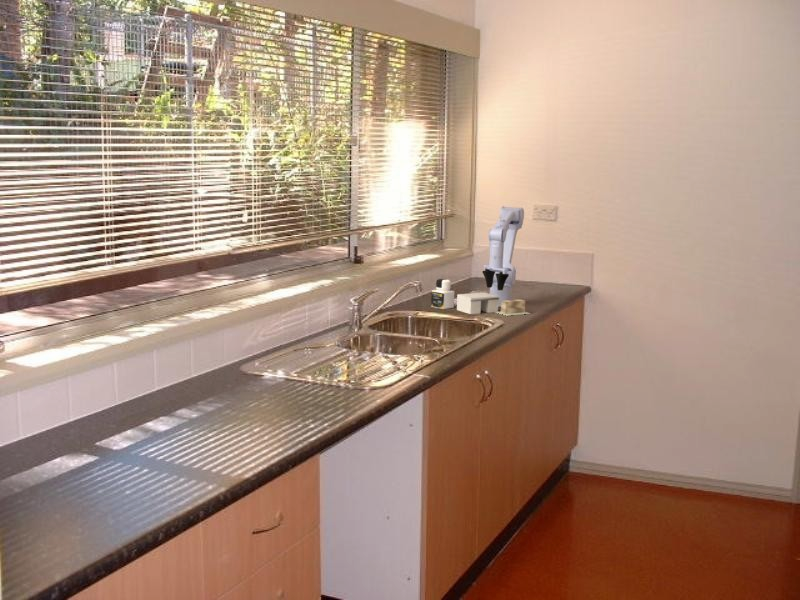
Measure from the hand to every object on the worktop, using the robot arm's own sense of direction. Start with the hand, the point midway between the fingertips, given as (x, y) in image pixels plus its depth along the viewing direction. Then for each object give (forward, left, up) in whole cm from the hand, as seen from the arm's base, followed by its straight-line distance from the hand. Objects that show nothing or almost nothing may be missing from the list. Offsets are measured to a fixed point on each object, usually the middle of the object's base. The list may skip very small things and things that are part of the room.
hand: (494, 288), depth 398 cm
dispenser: (-2, -7, -9) cm, 12 cm away
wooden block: (+8, +4, -9) cm, 13 cm away
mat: (+8, +4, -9) cm, 13 cm away
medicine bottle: (-15, -16, -10) cm, 24 cm away
